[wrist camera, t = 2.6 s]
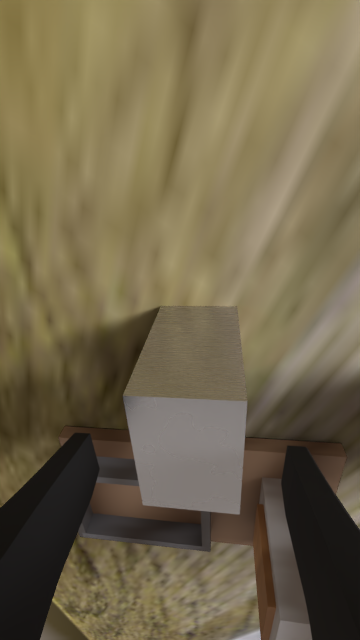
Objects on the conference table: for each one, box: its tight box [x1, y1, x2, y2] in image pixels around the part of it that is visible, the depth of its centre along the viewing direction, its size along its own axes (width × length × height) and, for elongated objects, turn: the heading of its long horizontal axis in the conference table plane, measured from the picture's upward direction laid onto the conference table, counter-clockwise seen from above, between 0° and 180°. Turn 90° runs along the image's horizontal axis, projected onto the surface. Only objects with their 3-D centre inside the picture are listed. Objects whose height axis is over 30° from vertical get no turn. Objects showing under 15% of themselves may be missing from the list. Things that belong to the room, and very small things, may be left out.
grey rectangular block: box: [123, 306, 247, 515], centre depth 14 cm, size 4×6×7 cm, turn 3°
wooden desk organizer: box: [58, 426, 347, 640], centre depth 19 cm, size 19×11×8 cm, turn 93°
